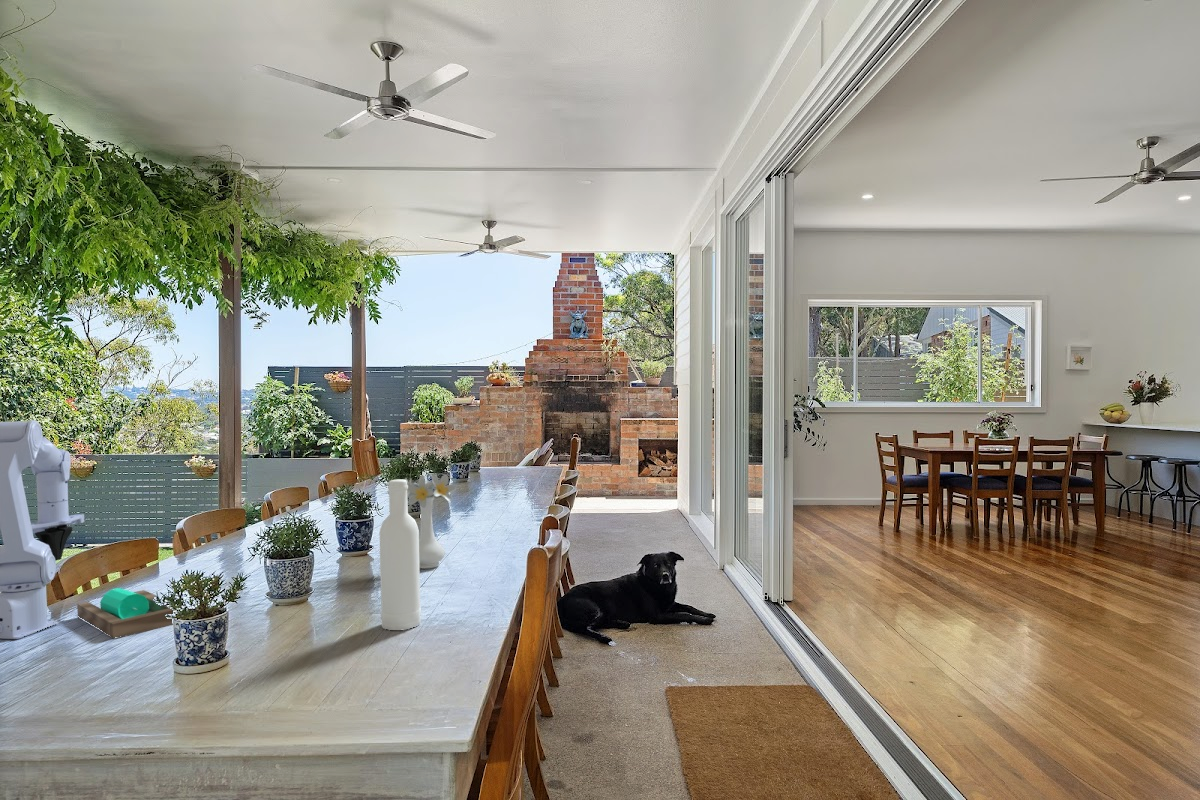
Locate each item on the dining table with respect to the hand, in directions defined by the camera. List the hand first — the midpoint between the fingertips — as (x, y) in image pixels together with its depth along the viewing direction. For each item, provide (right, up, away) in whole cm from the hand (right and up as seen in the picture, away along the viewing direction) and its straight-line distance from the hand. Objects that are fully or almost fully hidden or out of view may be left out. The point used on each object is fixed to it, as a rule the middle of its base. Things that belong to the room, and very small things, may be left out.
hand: (55, 559), depth 169 cm
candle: (+19, -8, -8) cm, 22 cm away
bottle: (+85, -10, -18) cm, 87 cm away
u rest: (+25, -10, -12) cm, 29 cm away
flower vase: (+78, -9, +30) cm, 84 cm away
